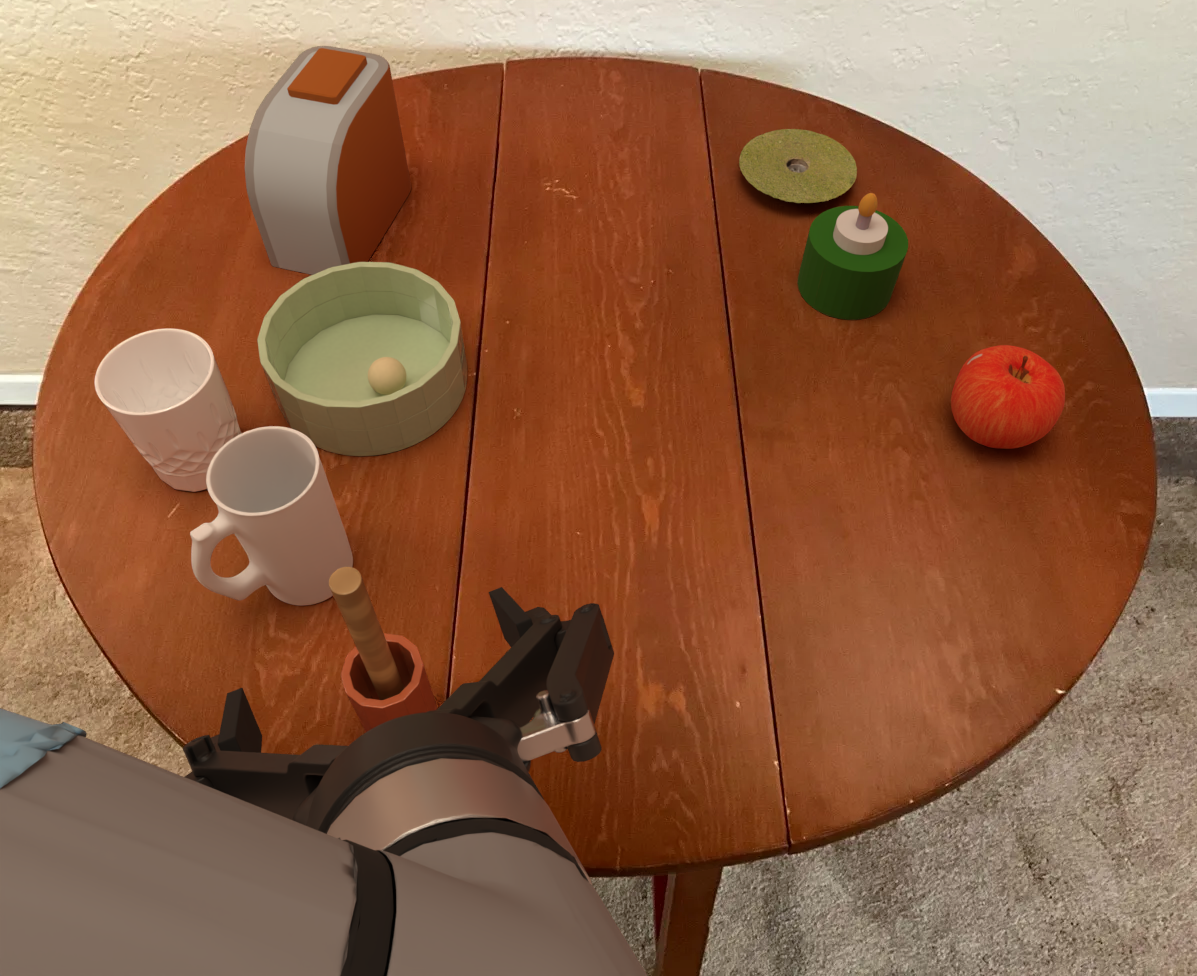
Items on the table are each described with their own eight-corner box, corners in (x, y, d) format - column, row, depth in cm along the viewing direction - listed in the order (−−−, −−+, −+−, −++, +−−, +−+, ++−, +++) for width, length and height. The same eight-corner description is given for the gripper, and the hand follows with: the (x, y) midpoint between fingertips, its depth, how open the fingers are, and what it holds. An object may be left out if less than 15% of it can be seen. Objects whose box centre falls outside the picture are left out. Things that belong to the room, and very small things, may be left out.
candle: (778, 282, 86) (798, 189, 78) (839, 241, 89) (865, 148, 81) (849, 334, 82) (878, 243, 74) (910, 290, 86) (945, 197, 77)
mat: (874, 177, 94) (879, 160, 93) (811, 235, 89) (815, 218, 88) (779, 131, 99) (782, 114, 97) (713, 183, 94) (715, 166, 92)
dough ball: (363, 390, 77) (356, 365, 75) (390, 368, 79) (383, 343, 76) (390, 408, 76) (384, 383, 74) (416, 385, 78) (411, 360, 75)
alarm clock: (337, 165, 95) (303, 32, 83) (418, 180, 93) (395, 48, 82) (267, 265, 86) (220, 133, 75) (355, 283, 85) (320, 152, 74)
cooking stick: (384, 720, 62) (321, 582, 47) (402, 701, 63) (345, 560, 48) (402, 735, 61) (344, 600, 46) (420, 716, 62) (368, 577, 47)
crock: (352, 727, 62) (324, 676, 55) (402, 674, 64) (381, 619, 58) (404, 770, 60) (382, 723, 54) (454, 714, 63) (438, 662, 56)
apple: (921, 434, 76) (953, 366, 70) (965, 373, 80) (999, 303, 73) (1016, 485, 74) (1059, 419, 67) (1057, 419, 77) (1101, 351, 71)
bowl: (239, 394, 78) (215, 343, 73) (373, 289, 85) (360, 236, 80) (374, 489, 73) (359, 440, 68) (505, 369, 80) (500, 317, 75)
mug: (317, 511, 71) (274, 408, 62) (377, 564, 69) (342, 465, 59) (202, 601, 67) (136, 505, 57) (262, 661, 65) (203, 572, 55)
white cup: (221, 401, 77) (178, 311, 69) (274, 459, 74) (235, 373, 66) (130, 453, 74) (73, 366, 66) (181, 517, 71) (128, 434, 63)
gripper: (55, 1180, 27) (156, 829, 47) (821, 805, 33) (620, 636, 53) (-62, 957, 25) (94, 691, 45) (766, 606, 31) (580, 509, 51)
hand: (378, 661), depth 49 cm, fingers open, 13 cm apart
